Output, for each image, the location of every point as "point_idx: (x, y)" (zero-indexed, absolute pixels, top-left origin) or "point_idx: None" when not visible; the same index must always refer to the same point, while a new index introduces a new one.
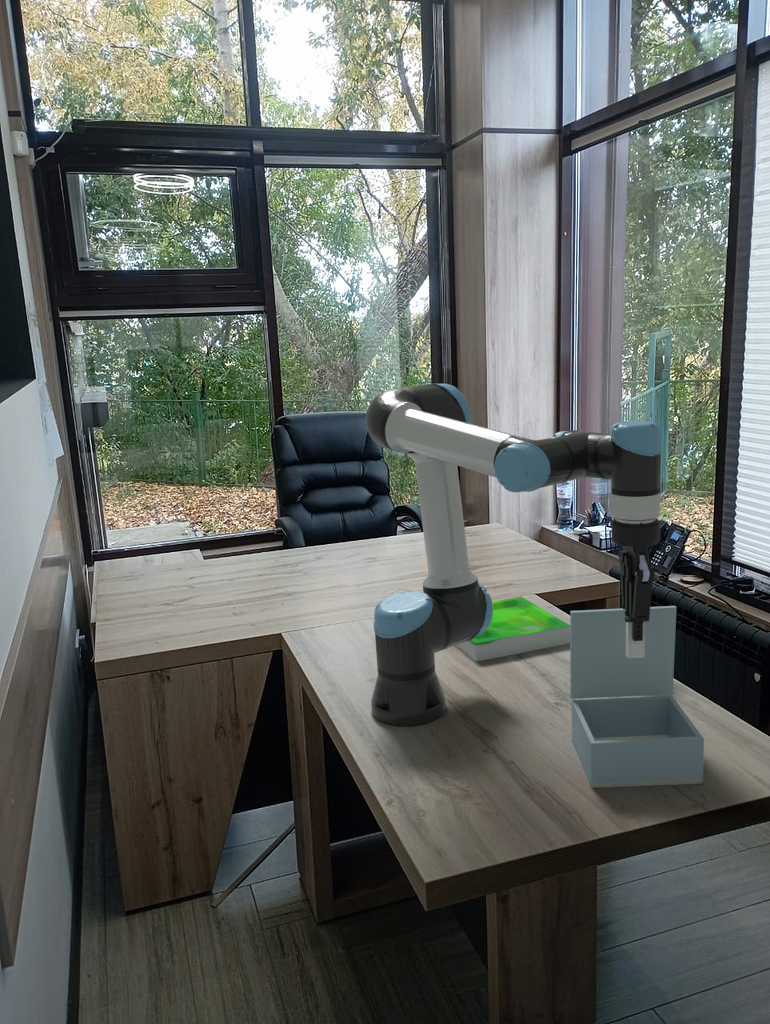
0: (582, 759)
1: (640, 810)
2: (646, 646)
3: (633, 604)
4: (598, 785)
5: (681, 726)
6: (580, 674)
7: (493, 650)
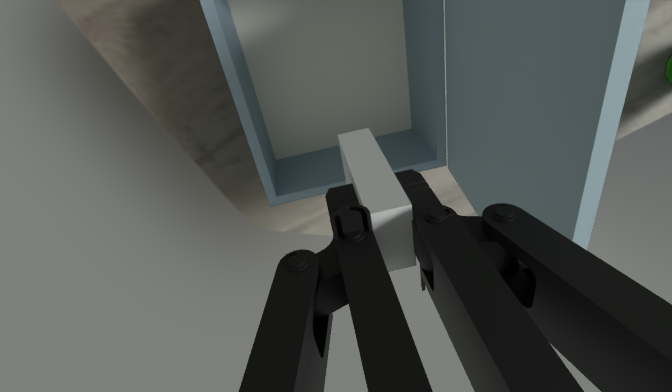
0: None
1: (158, 64)
2: (497, 175)
3: (295, 335)
4: None
5: None
6: None
7: None
